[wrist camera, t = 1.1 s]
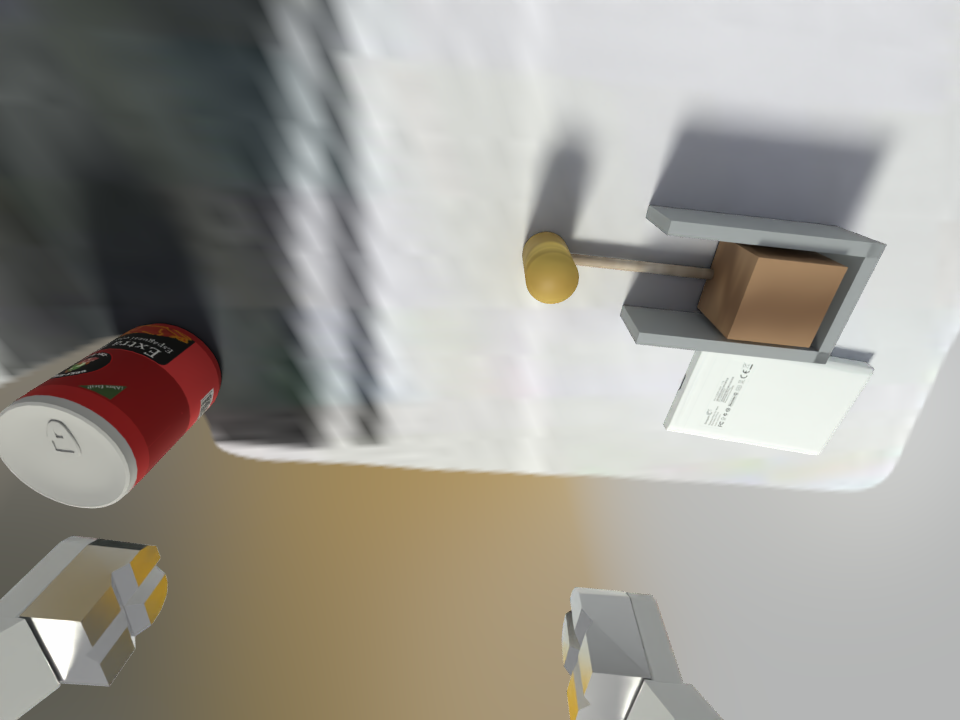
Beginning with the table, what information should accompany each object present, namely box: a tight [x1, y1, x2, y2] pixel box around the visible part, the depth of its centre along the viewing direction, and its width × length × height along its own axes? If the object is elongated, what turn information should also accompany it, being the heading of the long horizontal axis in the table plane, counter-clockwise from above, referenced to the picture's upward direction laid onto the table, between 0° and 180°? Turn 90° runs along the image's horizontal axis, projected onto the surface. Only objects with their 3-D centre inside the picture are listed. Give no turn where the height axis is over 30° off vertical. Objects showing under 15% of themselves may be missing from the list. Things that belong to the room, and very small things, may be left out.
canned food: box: [0, 323, 221, 508], centre depth 32 cm, size 8×8×11 cm
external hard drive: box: [663, 350, 874, 455], centre depth 36 cm, size 2×8×12 cm
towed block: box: [522, 232, 848, 348], centre depth 30 cm, size 5×18×5 cm, turn 84°
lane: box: [620, 205, 886, 364], centre depth 30 cm, size 8×12×4 cm, turn 84°
